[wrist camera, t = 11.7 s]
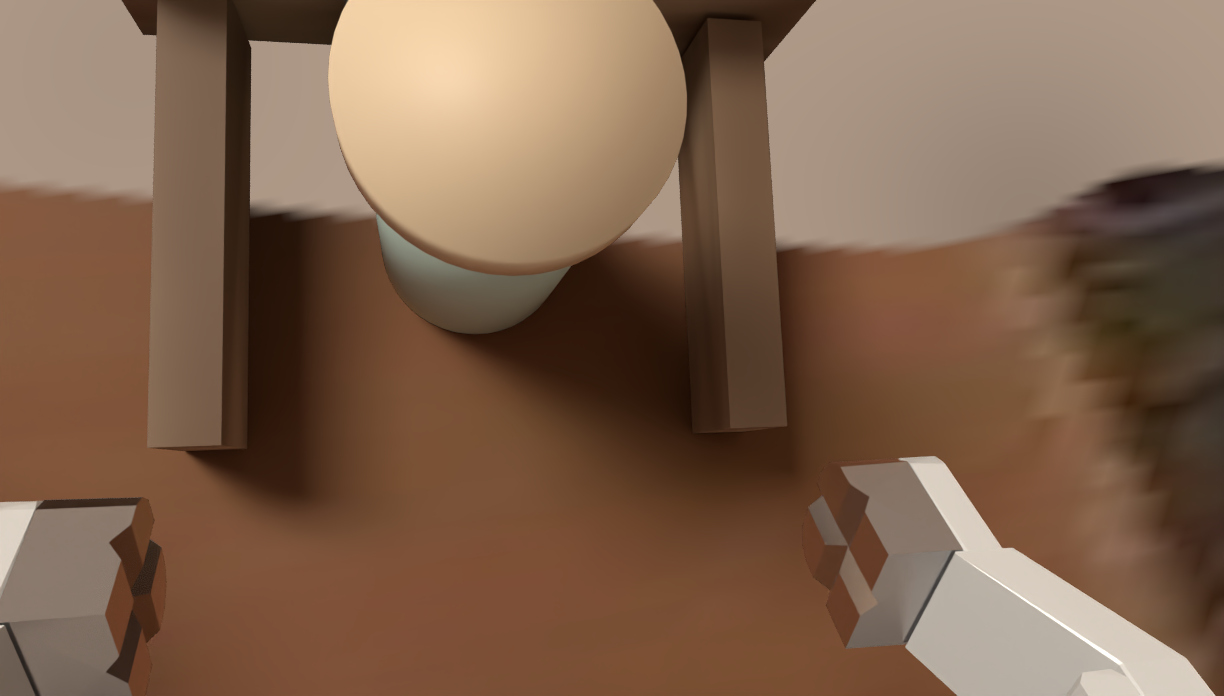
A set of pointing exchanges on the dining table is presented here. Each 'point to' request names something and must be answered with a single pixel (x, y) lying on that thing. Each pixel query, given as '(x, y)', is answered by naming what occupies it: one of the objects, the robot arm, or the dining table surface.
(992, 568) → the robot arm
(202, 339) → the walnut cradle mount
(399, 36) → the grey-green capped cylinder
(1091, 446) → the dining table surface
